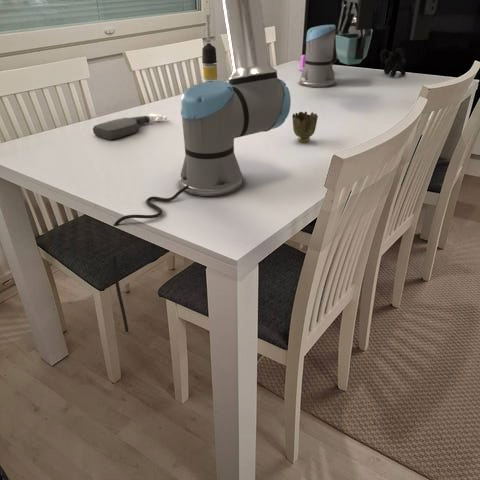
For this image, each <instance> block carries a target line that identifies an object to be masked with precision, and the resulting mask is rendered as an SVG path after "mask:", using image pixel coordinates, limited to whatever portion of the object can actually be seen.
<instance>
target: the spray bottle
mask: <svg viewBox="0 0 480 480" xmlns="http://www.w3.org/2000/svg"><path fill="white" fill-rule="evenodd" d="M167 120H168V117H167V116H165V115H162V114H158V113H152V112H151V113H149V114H147V115H141V116H133V117H132V116H131V117H121V118H116V119H112V120H107V121H105V122H102V123H98V124H95V125H94V126H93V127H92V131H93V134H94V135H95V136H96V137H99V138H102V139H105V140H110V141H111V140H116V139H121V138H123V137H127V136H129V135H133V134H135V133H137V132H138V131H139V127H140V126H141V125H144V124H149V123H150V122H152V121H154V123H155V122H157V121H167Z"/></svg>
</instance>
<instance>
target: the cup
mask: <svg viewBox="0 0 480 480" xmlns="http://www.w3.org/2000/svg"><path fill="white" fill-rule="evenodd" d="M291 116H292V117H291V118H292V130H293V133H294V135H295V136H296V137H297V141H298V142H299V143H301V144H302V143H303V144H304V143H305V144H306V143H308V142H310V139H311V137H312V136H313V135H314V134H315V132H316V128H317V123H318V118H319V115H318V114H317V113H314V112H313V111H311V112H310V113H309V114H308V112H307V111H304V112H303V111H299V112H295V113H292V115H291Z"/></svg>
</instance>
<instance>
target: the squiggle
mask: <svg viewBox="0 0 480 480" xmlns="http://www.w3.org/2000/svg"><path fill="white" fill-rule="evenodd" d="M385 55H386V56H385ZM387 56H388V57H387ZM379 57H380V61H381V62H382V63H384V64H385V65H384V67H383V73H384V74H385V75H390V77H392V78H394V77H395V76H396V75H397V72H399V73H400V74H401V76H405V75H406V73H407V72H406V71H405V69H404V68H403V67H402V66H404V65H405V64H406V61H407V60H406V57H405V54H404V51H403V49H402V48H400V47H397V48H396V49H395V54H394V51H389V50H387V49H382V50H381V51H380V53H379ZM399 59H400V62H398V60H399Z"/></svg>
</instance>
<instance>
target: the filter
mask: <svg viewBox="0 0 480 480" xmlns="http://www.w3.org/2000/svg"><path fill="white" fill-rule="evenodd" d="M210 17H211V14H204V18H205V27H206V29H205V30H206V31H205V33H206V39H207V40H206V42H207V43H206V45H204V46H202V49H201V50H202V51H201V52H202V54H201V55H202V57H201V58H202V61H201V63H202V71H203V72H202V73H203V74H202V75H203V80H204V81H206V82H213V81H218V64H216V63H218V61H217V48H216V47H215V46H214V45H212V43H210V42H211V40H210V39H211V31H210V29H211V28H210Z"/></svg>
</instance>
